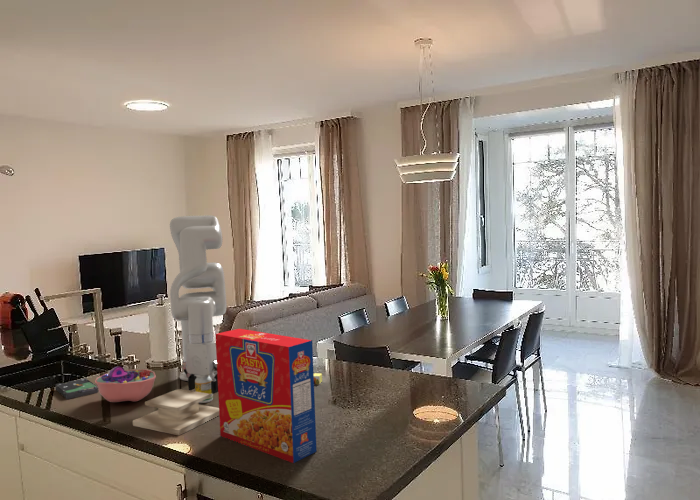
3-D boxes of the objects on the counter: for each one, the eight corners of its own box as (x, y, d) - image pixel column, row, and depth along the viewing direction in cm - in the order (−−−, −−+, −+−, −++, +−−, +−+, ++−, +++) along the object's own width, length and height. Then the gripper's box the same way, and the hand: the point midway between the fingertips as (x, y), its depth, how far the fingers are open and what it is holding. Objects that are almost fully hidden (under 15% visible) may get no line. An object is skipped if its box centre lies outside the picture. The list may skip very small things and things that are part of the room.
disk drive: (54, 392, 196) (66, 400, 185) (54, 384, 195) (66, 392, 184) (86, 385, 203) (99, 393, 191) (85, 377, 202) (98, 385, 191)
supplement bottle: (214, 401, 177) (212, 372, 177) (197, 404, 175) (195, 374, 175) (211, 396, 182) (210, 368, 182) (194, 399, 180) (193, 370, 180)
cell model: (133, 412, 170) (131, 376, 169) (83, 406, 177) (81, 372, 176) (169, 395, 186) (167, 362, 185) (122, 390, 193) (120, 358, 192)
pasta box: (220, 436, 149) (215, 333, 147) (243, 427, 155) (239, 328, 153) (293, 463, 131) (288, 347, 129) (316, 451, 137) (312, 340, 135)
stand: (179, 405, 174) (178, 385, 174) (223, 413, 166) (222, 392, 166) (132, 425, 159) (131, 403, 158) (179, 435, 150) (177, 412, 150)
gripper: (172, 339, 178) (175, 391, 179) (213, 342, 170) (216, 397, 171) (189, 334, 185) (192, 384, 186) (230, 337, 177) (232, 390, 177)
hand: (204, 390), depth 178 cm, fingers open, 9 cm apart
